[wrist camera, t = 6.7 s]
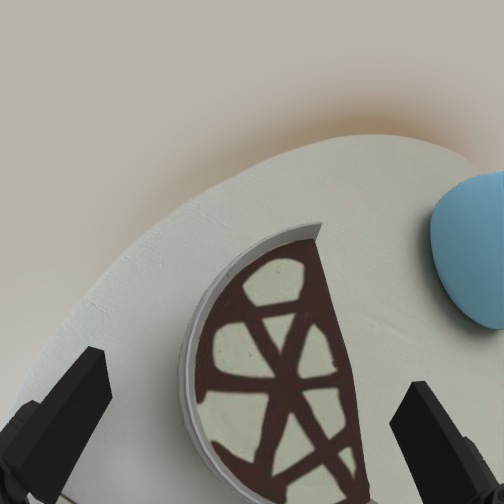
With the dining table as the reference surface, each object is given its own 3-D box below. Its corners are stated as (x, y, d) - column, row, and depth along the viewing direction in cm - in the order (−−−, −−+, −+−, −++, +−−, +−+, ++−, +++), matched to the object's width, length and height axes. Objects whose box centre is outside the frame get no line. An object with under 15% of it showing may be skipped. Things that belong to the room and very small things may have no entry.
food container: (188, 309, 19) (159, 222, 10) (278, 299, 20) (318, 210, 11) (212, 487, 13) (201, 562, 5) (309, 472, 14) (386, 520, 5)
